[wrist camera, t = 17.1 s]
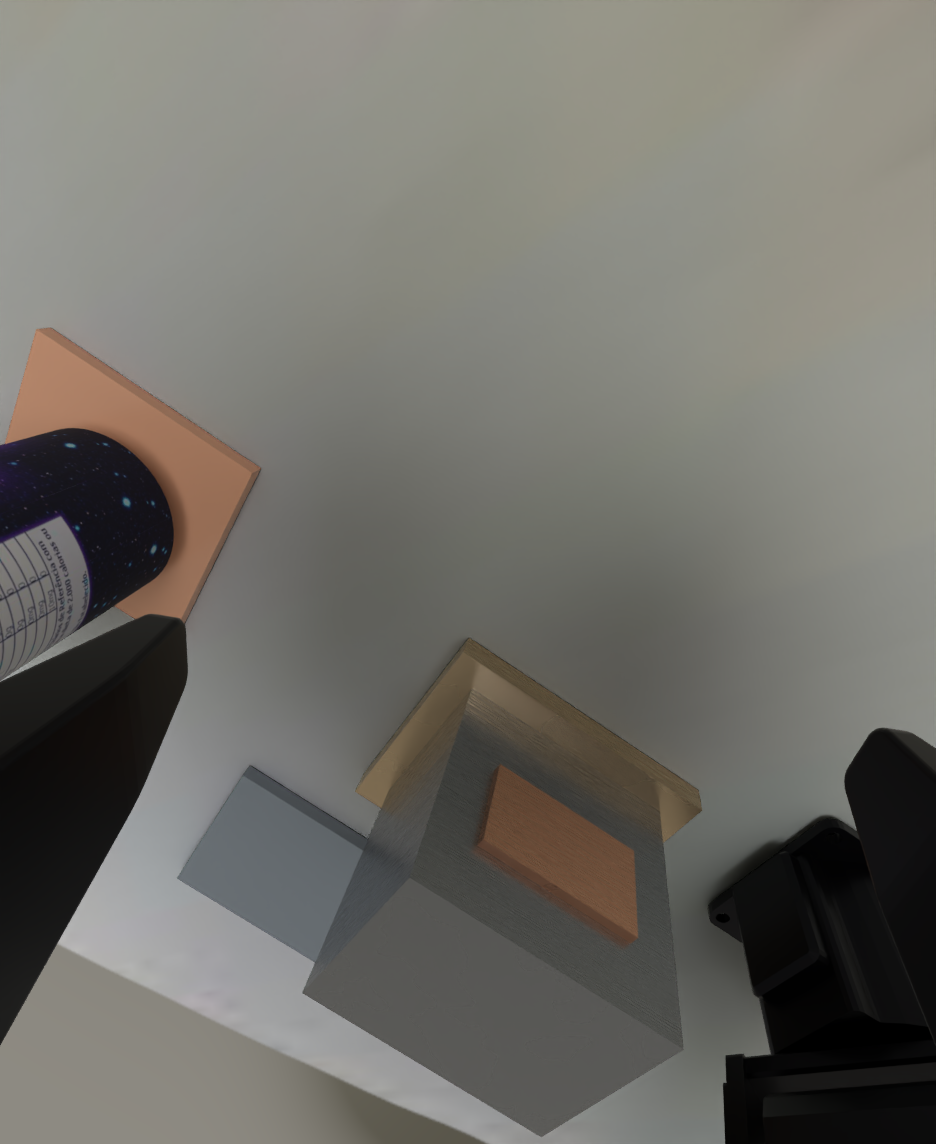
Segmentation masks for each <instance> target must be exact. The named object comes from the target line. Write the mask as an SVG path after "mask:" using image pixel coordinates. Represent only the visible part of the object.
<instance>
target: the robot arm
mask: <svg viewBox="0 0 936 1144" xmlns="http://www.w3.org/2000/svg"><path fill="white" fill-rule="evenodd" d="M187 675H188V663H187V643H186V628H185V624H184V622H183V621H182V620H181V619H180V618H178V617H171V616H165V615H158V614H146V615H144V616H141V617H139V618H137V619H135V620H133V621H131V622H128V623H126V624H124V625H122V626H120V627H118V628H115V629H113V630H111V631H109V632H107V633H105V634H102V635H100V636H98V637H96V638H94V639H92V640H90V641H87V642H85V643H83V644H81V645H79V646H77V647H74V648H72V649H70V650H68V651H66V652H64V653H61V654H59V655H57V656H55V657H53V658H51V659H48V660H46V661H44V662H42V663H40V664H38V665H35V666H33V667H31V668H29V669H27V670H25V671H23V672H20V673H18V674H16V675H14V676H12V677H10V678H7V679H5V680H3V681H1V682H0V1045H1V1043H2V1041H3V1040H4V1038H5V1036H6V1034H7V1032H8V1031H9V1029H10V1027H11V1025H12V1023H13V1022H14V1020H15V1018H16V1016H17V1015H18V1013H19V1011H20V1009H21V1007H22V1006H23V1004H24V1002H25V1000H26V999H27V997H28V995H29V993H30V991H31V990H32V988H33V986H34V984H35V982H36V981H37V979H38V977H39V975H40V974H41V972H42V970H43V968H44V966H45V965H46V963H47V961H48V959H49V957H50V956H51V954H52V952H53V950H54V949H55V947H56V945H57V943H58V941H59V940H60V938H61V936H62V934H63V932H64V931H65V929H66V927H67V925H68V924H69V922H70V920H71V918H72V916H73V915H74V913H75V911H76V909H77V907H78V906H79V904H80V902H81V900H82V899H83V897H84V895H85V893H86V891H87V890H88V888H89V886H90V884H91V882H92V881H93V879H94V877H95V875H96V873H97V872H98V870H99V868H100V866H101V865H102V863H103V861H104V859H105V857H106V856H107V854H108V852H109V850H110V848H111V847H112V845H113V843H114V841H115V840H116V838H117V836H118V834H119V832H120V831H121V829H122V827H123V825H124V823H125V822H126V820H127V818H128V816H129V815H130V813H131V811H132V809H133V807H134V805H135V803H136V801H137V799H138V797H139V795H140V793H141V791H142V789H143V786H144V784H145V782H146V780H147V777H148V775H149V773H150V770H151V768H152V765H153V763H154V761H155V758H156V756H157V753H158V751H159V749H160V746H161V744H162V741H163V739H164V737H165V734H166V732H167V729H168V727H169V725H170V722H171V720H172V717H173V715H174V713H175V710H176V708H177V705H178V703H179V701H180V698H181V696H182V693H183V691H184V688H185V685H186V681H187ZM844 783H845V791H846V794H847V797H848V801H849V804H850V808H851V811H852V815H853V818H854V821H855V825H856V828H857V832H856V831H855V830H853V829H852V828H850V827H849V826H847V825H846V824H844V823H843V822H841V821H839V820H837V819H825V820H822V821H820V822H819V823H817V824H816V825H815V826H813V827H812V828H811V829H809V830H808V831H807V832H805V833H804V834H802V835H801V836H800V837H798V838H797V839H796V840H794V841H793V842H792V843H790V844H789V845H788V846H786V847H785V848H784V849H782V850H781V851H780V852H778V853H777V854H775V855H774V856H773V857H771V858H770V859H769V860H767V861H766V862H765V863H763V864H762V865H761V866H759V867H758V868H757V869H755V870H754V871H753V872H751V873H750V874H749V875H747V876H746V877H744V878H743V879H742V880H740V881H739V882H738V883H736V884H735V885H734V886H732V887H731V888H730V889H728V890H727V891H726V892H724V893H723V894H722V895H720V896H719V897H718V898H716V899H715V900H713V901H712V902H711V903H710V904H709V905H708V914H709V919H710V921H711V922H712V923H713V924H714V925H715V926H717V927H718V928H720V929H722V930H723V931H725V932H726V933H728V934H729V935H731V936H732V937H734V938H735V939H737V940H739V941H740V942H742V943H743V947H744V952H745V957H746V962H747V967H748V972H749V977H750V982H751V987H752V991H753V993H754V995H755V996H757V997H758V998H759V1000H760V1005H761V1010H762V1014H763V1019H764V1024H765V1029H766V1033H767V1038H768V1043H769V1048H770V1052H771V1054H770V1055H761V1056H751V1057H745V1056H744V1054H735V1055H726V1082H727V1083H723V1095H724V1121H725V1144H936V748H934V747H933V746H931V745H930V744H928V743H927V742H925V741H924V740H922V739H921V738H919V737H918V736H916V735H915V734H913V733H910V732H907V731H902V730H895V729H889V728H878V729H876V730H874V731H872V732H871V733H870V734H869V736H868V737H867V739H866V740H865V742H864V743H863V745H862V747H861V748H860V750H859V751H858V753H857V754H856V756H855V757H854V759H853V761H852V762H851V764H850V765H849V767H848V769H847V770H846V774H845V780H844ZM830 833H836V834H834V835H828V834H830ZM720 913H724V914H720Z"/></svg>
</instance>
